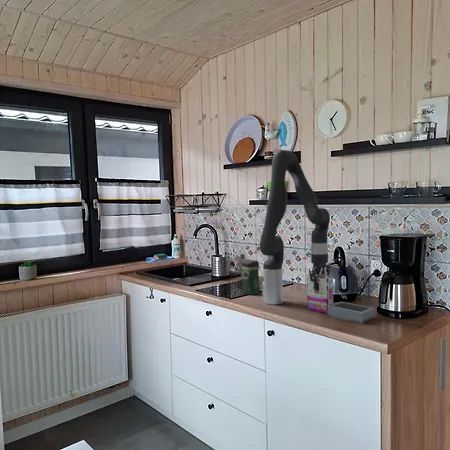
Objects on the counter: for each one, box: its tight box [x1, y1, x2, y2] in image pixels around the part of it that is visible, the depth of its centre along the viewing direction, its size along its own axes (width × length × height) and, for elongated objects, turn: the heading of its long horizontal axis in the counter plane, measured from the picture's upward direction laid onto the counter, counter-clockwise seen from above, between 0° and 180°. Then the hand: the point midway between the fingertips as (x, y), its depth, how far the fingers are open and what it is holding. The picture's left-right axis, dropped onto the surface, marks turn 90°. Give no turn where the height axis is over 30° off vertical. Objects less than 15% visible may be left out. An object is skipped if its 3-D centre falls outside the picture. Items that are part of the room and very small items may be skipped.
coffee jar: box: [241, 259, 261, 295], centre depth 228 cm, size 10×8×19 cm
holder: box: [327, 301, 376, 325], centre depth 179 cm, size 16×10×4 cm, turn 43°
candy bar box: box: [306, 274, 334, 314], centre depth 190 cm, size 11×5×16 cm, turn 45°
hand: (320, 289), depth 190 cm, fingers closed on candy bar box, 5 cm apart
